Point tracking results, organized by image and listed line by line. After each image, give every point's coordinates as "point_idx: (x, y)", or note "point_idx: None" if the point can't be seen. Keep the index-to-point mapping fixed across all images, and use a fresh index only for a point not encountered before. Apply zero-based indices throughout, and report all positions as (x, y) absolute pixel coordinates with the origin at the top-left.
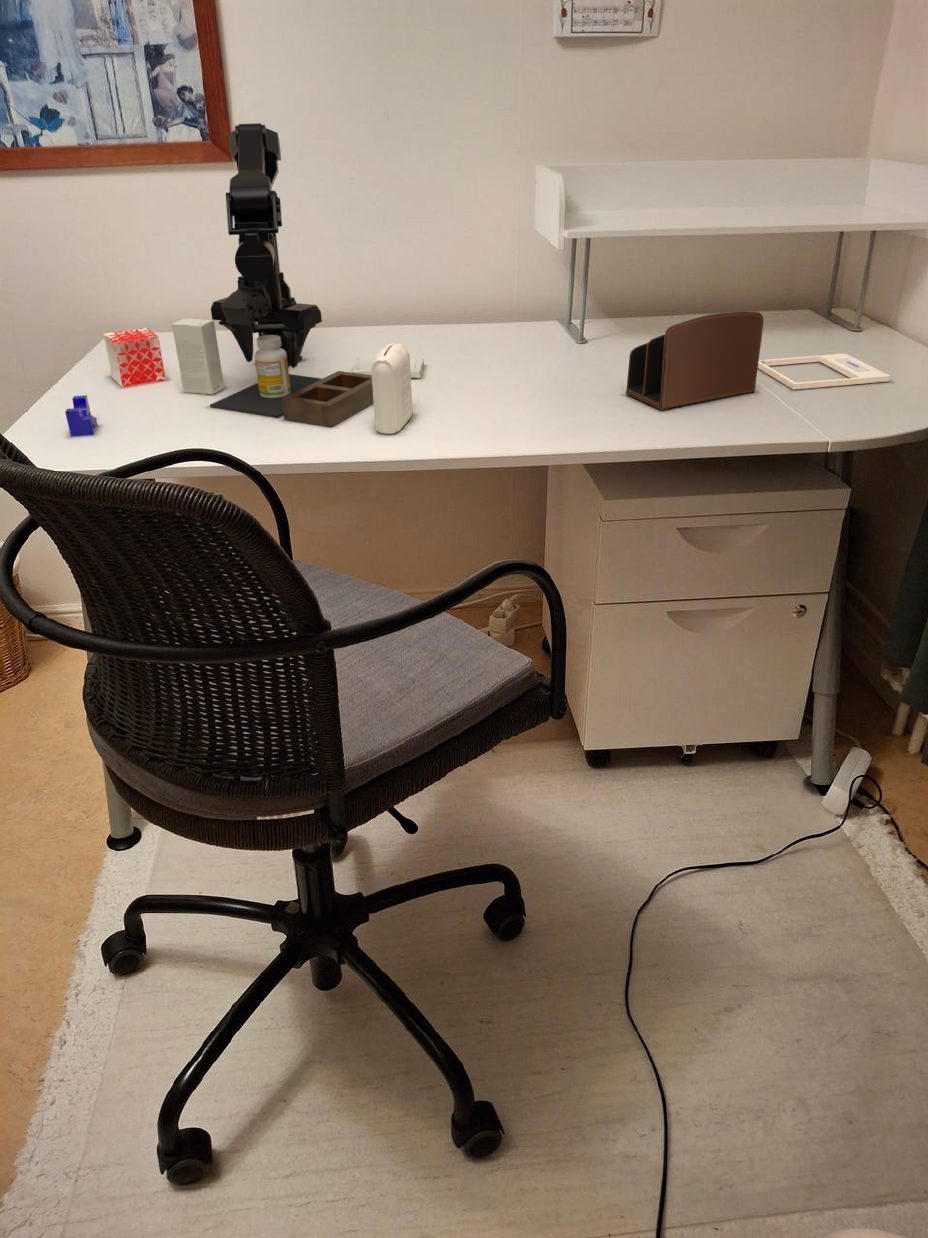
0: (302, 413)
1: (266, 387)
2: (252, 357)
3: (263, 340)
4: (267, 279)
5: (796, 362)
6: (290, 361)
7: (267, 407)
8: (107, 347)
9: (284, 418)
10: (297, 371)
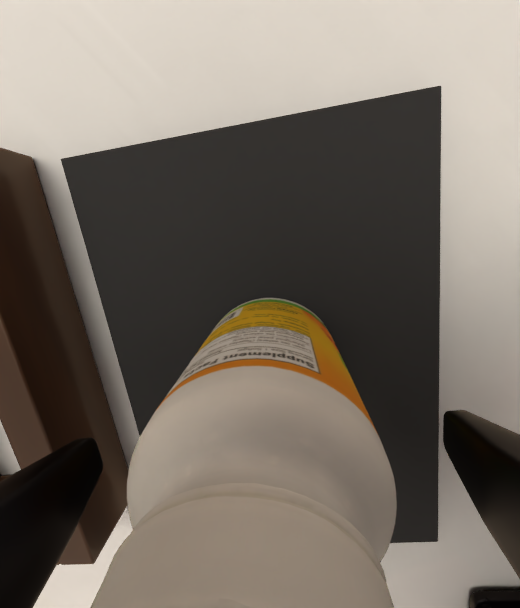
0: None
1: (247, 310)
2: (453, 464)
3: None
4: None
5: None
6: (54, 460)
7: (175, 215)
8: None
9: (24, 155)
10: (400, 578)
